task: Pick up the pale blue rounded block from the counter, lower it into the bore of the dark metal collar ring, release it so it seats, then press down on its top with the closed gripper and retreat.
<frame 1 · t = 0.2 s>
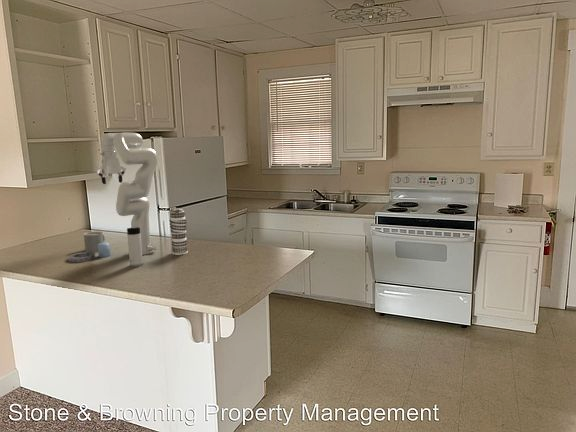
hand: (112, 183, 261), 37 cm above the countertop, tool pointing down, fingers open, 9 cm apart
travel mug: (136, 265, 221), on the countertop
decorative candle: (180, 253, 242), on the countertop
pale blue rounded block: (104, 256, 239), on the countertop
collar ring: (82, 258, 234), on the countertop
coffee mug: (97, 249, 253), on the countertop
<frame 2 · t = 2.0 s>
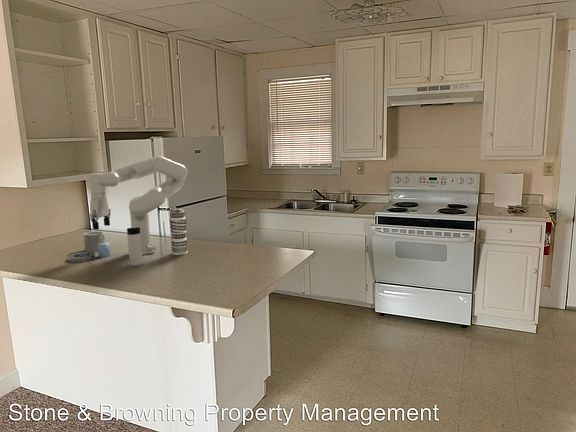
hand: (101, 227, 236), 16 cm above the countertop, tool pointing down, fingers open, 9 cm apart
nothing on the countertop moved.
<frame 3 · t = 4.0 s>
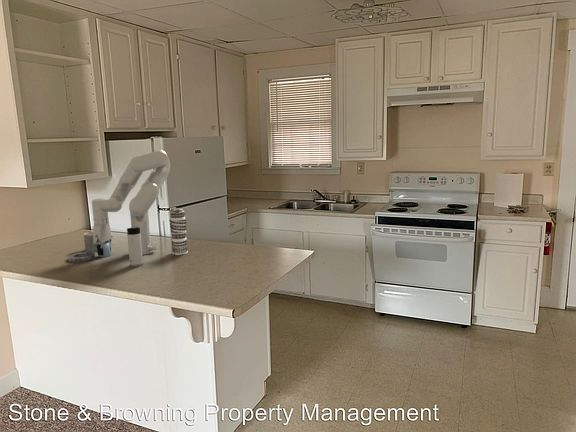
hand: (104, 253, 238), 2 cm above the countertop, tool pointing down, fingers closed on pale blue rounded block, 6 cm apart
pale blue rounded block: (104, 256, 239), on the countertop, touching gripper
everything else where it was.
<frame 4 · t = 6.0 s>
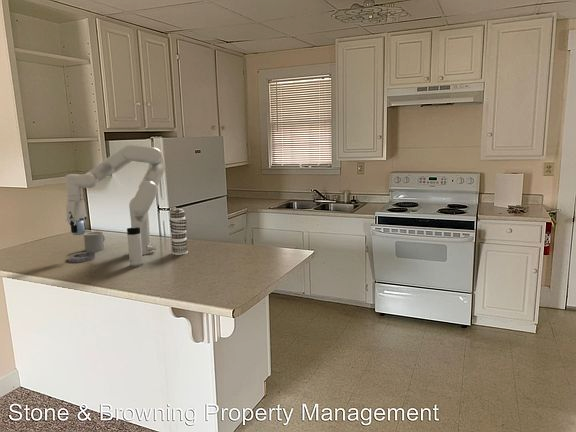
hand: (78, 230, 231), 15 cm above the countertop, tool pointing down, fingers closed on pale blue rounded block, 6 cm apart
pale blue rounded block: (78, 233, 231), point 14 cm above the countertop, touching gripper
everything else where it was.
when the fingers open (3 cm above the countertop, at t = 8.2 s): pale blue rounded block drops 1 cm, resting in collar ring.
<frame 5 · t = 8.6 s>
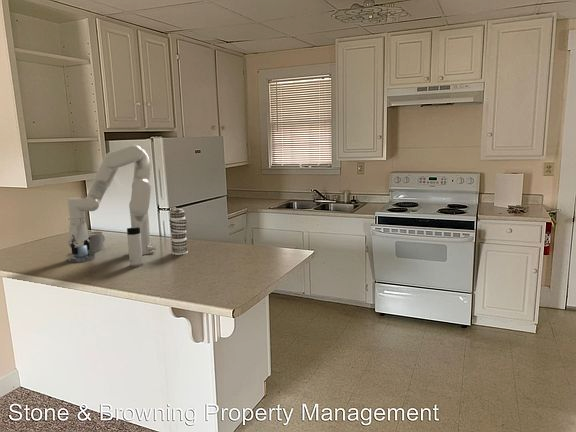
hand: (81, 252, 233), 4 cm above the countertop, tool pointing down, fingers open, 9 cm apart
pale blue rounded block: (82, 258, 234), resting in collar ring
everything else where it was.
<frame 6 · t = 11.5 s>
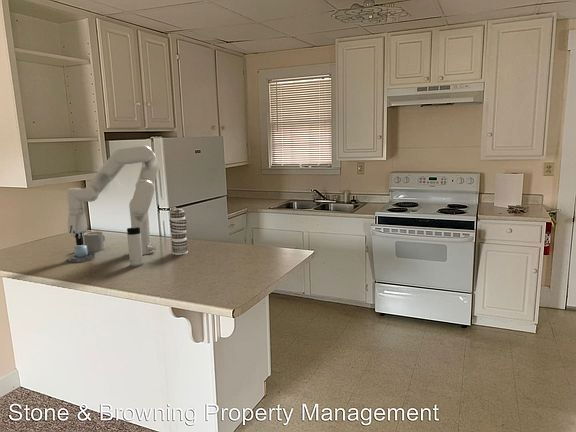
hand: (80, 244, 232), 8 cm above the countertop, tool pointing down, fingers closed
nothing on the countertop moved.
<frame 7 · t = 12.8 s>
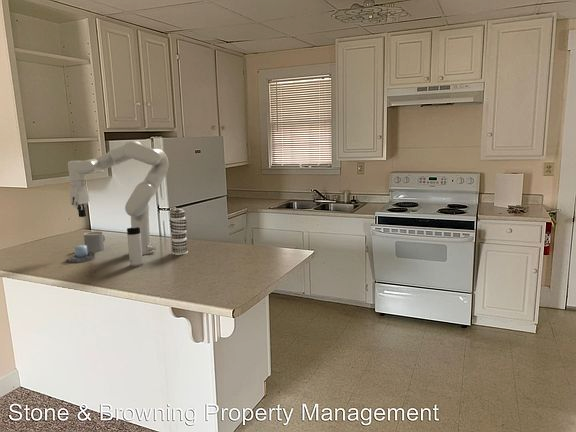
hand: (82, 216, 238), 22 cm above the countertop, tool pointing down, fingers closed
nothing on the countertop moved.
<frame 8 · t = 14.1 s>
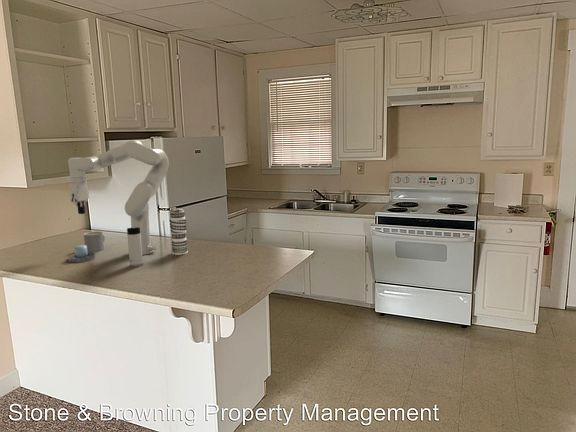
hand: (81, 213, 239), 23 cm above the countertop, tool pointing down, fingers closed
nothing on the countertop moved.
at the end: pale blue rounded block 0.0 cm off-centre on the collar ring, point 0.0 cm above the collar ring's base; pale blue rounded block tilted 0°; the gripper is holding nothing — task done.
